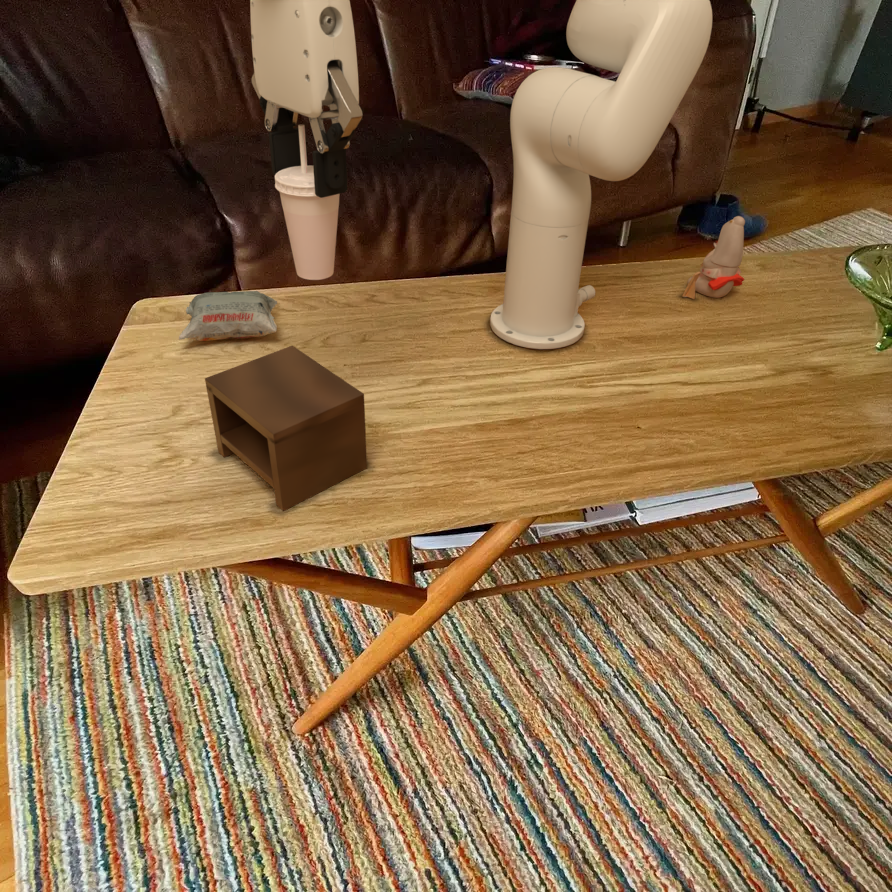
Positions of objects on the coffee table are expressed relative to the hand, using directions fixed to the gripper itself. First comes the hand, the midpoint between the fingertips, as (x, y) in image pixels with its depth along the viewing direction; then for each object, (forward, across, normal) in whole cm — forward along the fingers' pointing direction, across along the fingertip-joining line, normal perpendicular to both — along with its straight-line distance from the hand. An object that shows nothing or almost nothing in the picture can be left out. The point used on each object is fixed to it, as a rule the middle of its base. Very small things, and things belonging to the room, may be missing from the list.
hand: (309, 182), depth 71 cm
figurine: (+24, -11, -61) cm, 66 cm away
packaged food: (+25, +20, 0) cm, 32 cm away
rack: (+25, -7, +8) cm, 27 cm away
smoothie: (+9, 0, 0) cm, 9 cm away
